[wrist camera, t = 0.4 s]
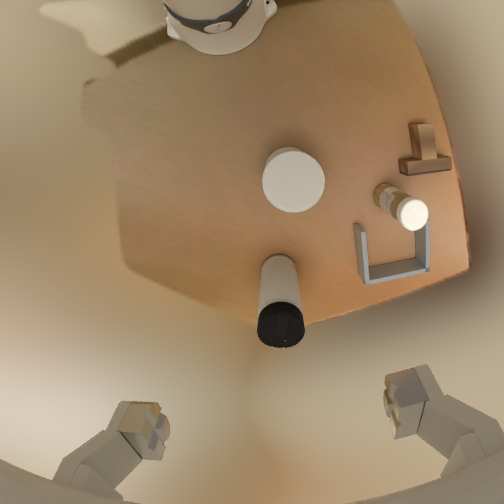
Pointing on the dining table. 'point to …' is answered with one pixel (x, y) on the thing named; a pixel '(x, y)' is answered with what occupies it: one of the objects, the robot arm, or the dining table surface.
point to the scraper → (423, 152)
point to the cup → (292, 180)
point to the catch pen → (395, 268)
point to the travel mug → (280, 303)
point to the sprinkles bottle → (401, 206)
